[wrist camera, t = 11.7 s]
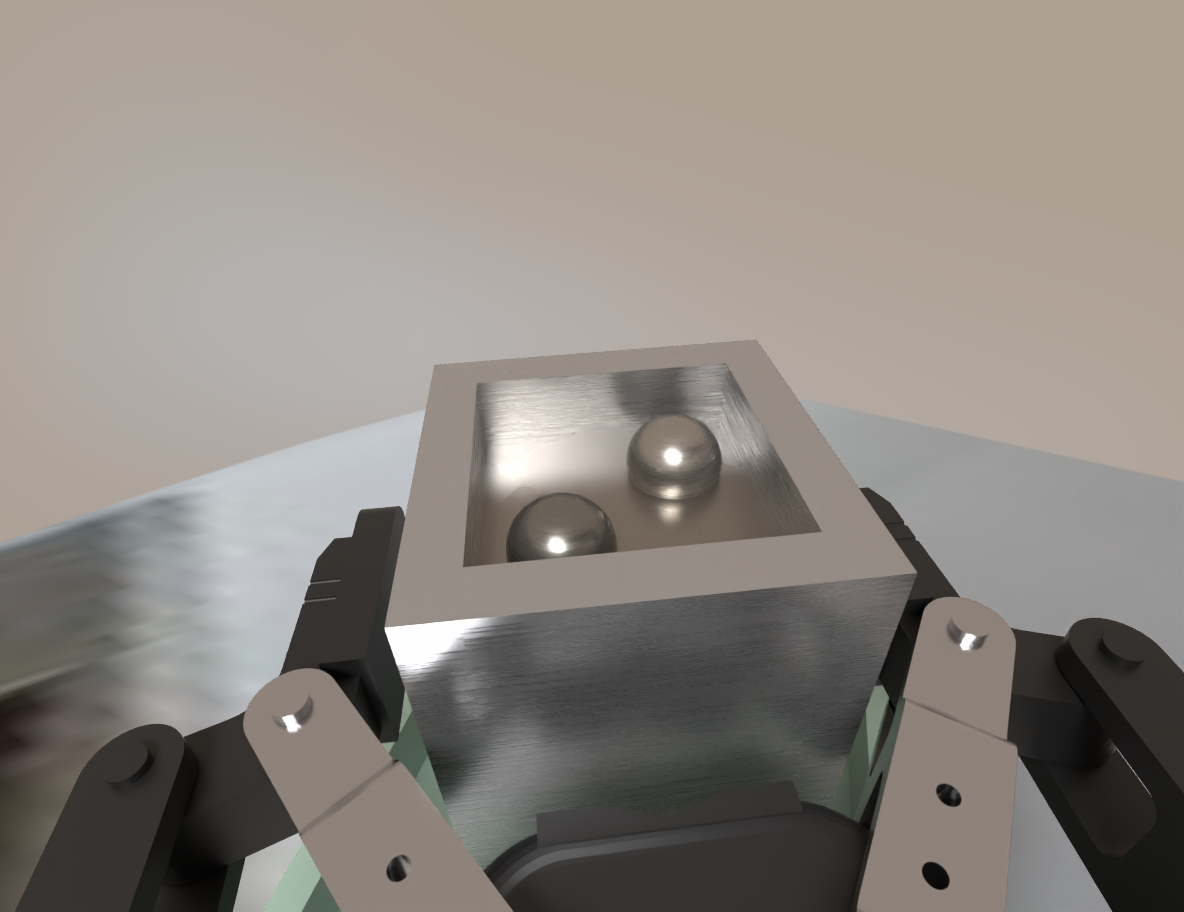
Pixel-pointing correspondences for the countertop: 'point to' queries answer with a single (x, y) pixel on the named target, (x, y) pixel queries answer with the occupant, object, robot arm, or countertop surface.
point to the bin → (307, 903)
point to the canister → (633, 587)
